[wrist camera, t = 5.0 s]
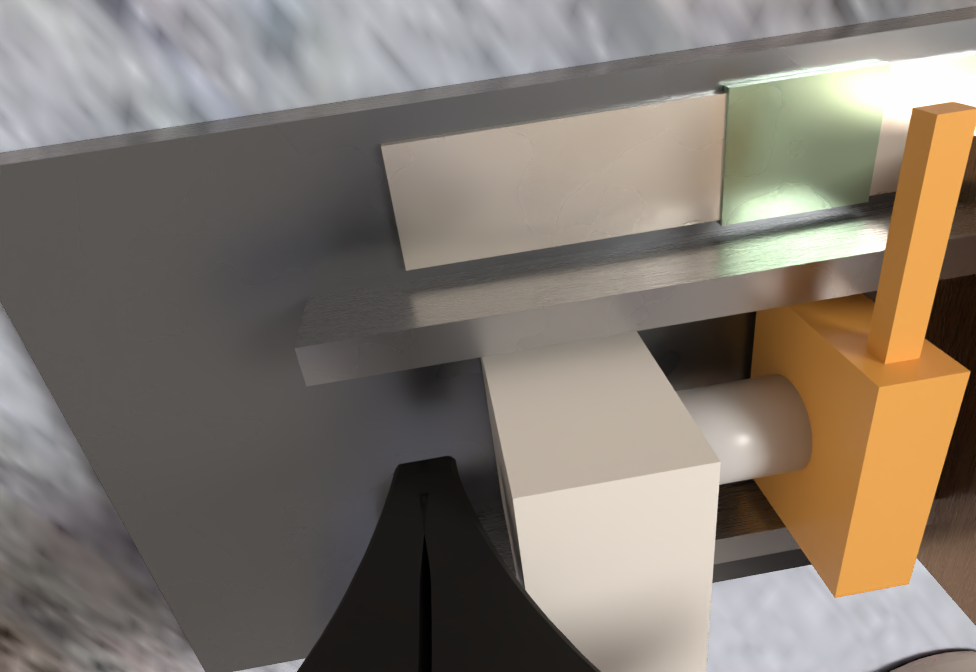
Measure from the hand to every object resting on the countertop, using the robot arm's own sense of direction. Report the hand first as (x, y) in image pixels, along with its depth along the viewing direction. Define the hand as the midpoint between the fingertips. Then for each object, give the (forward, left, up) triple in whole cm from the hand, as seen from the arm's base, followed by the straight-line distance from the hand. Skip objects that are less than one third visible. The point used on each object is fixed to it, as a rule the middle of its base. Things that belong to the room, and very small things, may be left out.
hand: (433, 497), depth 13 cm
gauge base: (0, -3, -3) cm, 5 cm away
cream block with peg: (0, -4, -2) cm, 5 cm away
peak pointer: (+2, -8, -2) cm, 9 cm away
